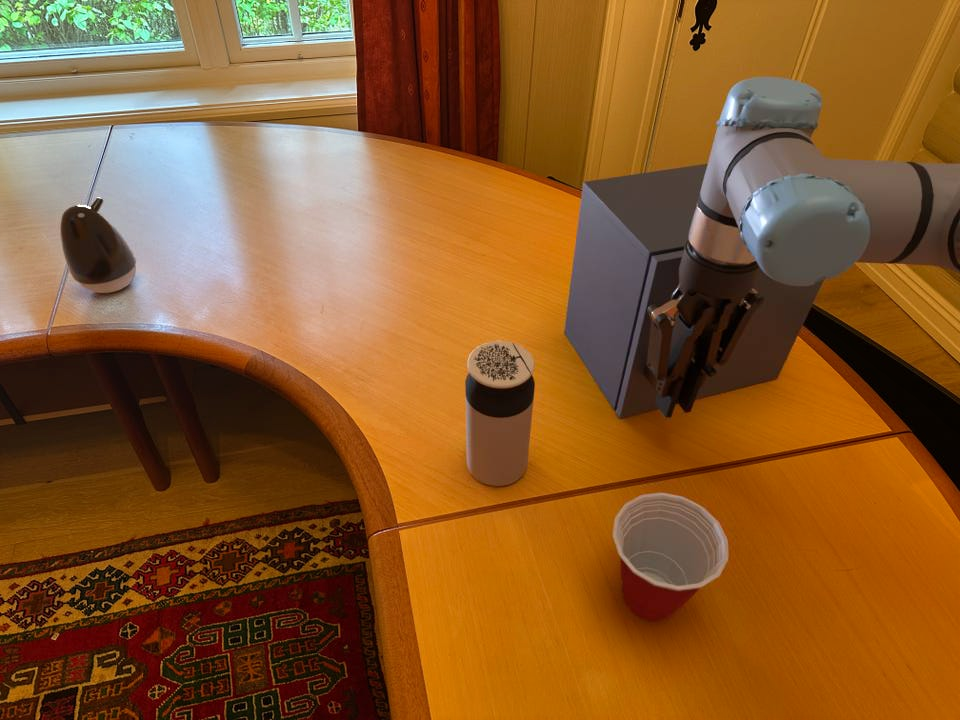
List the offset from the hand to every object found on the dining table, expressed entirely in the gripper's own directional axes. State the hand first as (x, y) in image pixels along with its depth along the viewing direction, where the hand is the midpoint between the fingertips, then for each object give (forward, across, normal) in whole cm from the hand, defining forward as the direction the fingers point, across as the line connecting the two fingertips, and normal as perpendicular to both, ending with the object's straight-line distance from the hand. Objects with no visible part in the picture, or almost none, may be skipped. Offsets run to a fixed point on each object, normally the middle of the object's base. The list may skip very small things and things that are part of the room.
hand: (672, 407), depth 76 cm
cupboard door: (+8, -10, -4) cm, 13 cm away
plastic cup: (+8, +12, +18) cm, 23 cm away
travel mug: (+8, +22, -4) cm, 24 cm away
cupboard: (+8, -10, -17) cm, 21 cm away
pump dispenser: (+8, +74, -62) cm, 97 cm away
